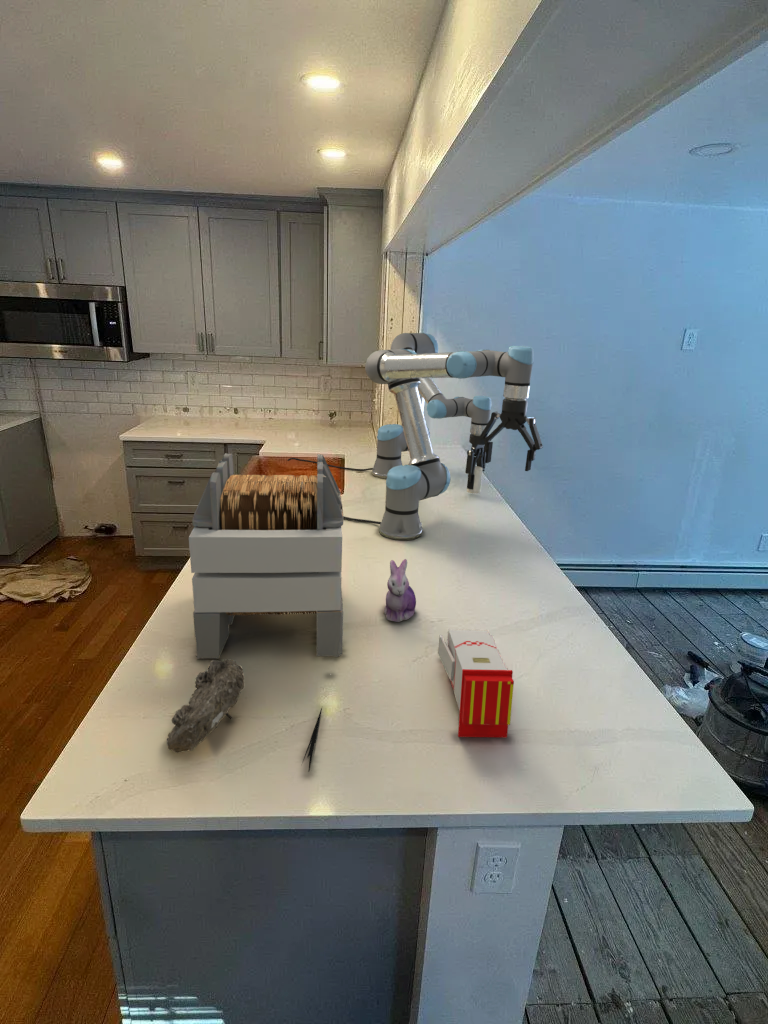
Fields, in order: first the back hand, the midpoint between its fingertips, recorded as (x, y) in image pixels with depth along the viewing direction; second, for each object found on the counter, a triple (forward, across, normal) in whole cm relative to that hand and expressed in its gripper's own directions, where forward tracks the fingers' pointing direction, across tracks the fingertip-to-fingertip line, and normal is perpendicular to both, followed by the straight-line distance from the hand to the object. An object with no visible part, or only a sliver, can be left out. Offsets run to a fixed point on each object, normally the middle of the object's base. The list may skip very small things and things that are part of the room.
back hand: (473, 487), depth 244 cm
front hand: (-25, -47, -35) cm, 64 cm away
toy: (+4, -119, -65) cm, 136 cm away
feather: (+4, -145, -47) cm, 153 cm away
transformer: (+4, -126, -13) cm, 127 cm away
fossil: (+4, -158, -31) cm, 161 cm away
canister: (+2, 0, 0) cm, 2 cm away
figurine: (+4, -103, -35) cm, 109 cm away
